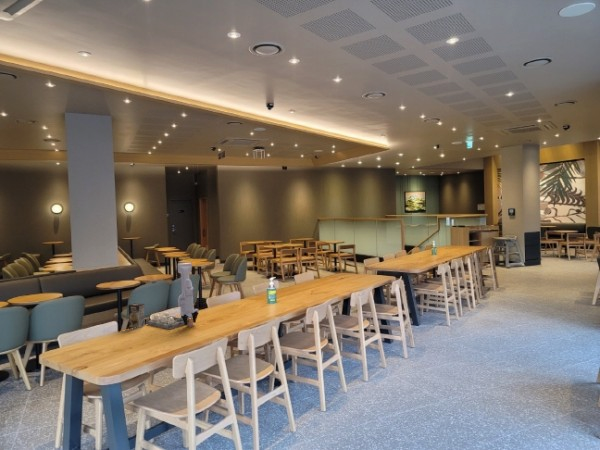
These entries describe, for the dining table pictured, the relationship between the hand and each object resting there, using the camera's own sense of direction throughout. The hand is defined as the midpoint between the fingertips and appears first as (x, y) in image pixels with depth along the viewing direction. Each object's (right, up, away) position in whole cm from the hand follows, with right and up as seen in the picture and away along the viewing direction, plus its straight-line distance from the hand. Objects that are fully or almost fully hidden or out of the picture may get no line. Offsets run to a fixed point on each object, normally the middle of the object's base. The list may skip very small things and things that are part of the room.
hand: (190, 323), depth 297 cm
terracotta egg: (0, -2, 0) cm, 2 cm away
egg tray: (-18, -2, +8) cm, 19 cm away
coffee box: (-39, -3, +3) cm, 39 cm away
